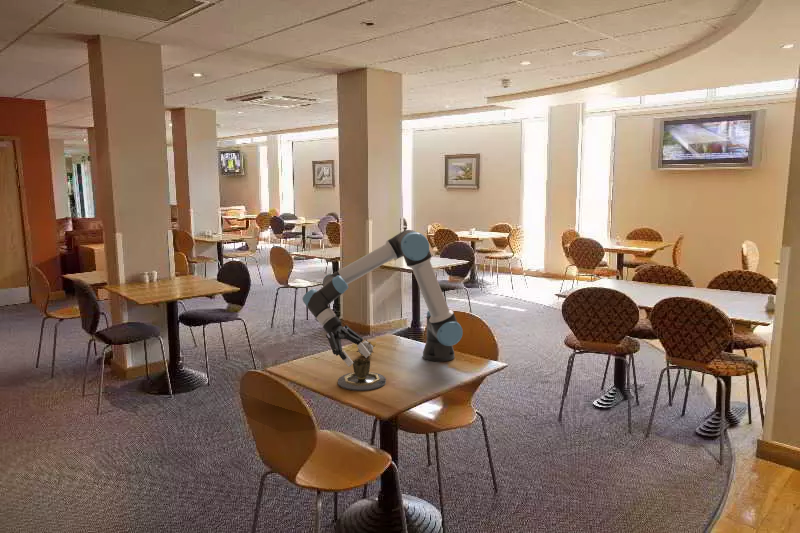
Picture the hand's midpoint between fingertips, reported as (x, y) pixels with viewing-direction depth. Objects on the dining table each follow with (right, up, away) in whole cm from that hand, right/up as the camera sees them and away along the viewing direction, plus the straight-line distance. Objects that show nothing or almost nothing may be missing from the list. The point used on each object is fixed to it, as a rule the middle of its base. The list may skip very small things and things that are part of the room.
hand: (360, 360), depth 244 cm
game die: (0, -4, +37) cm, 37 cm away
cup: (+1, -8, +1) cm, 9 cm away
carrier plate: (+1, -9, +2) cm, 10 cm away
